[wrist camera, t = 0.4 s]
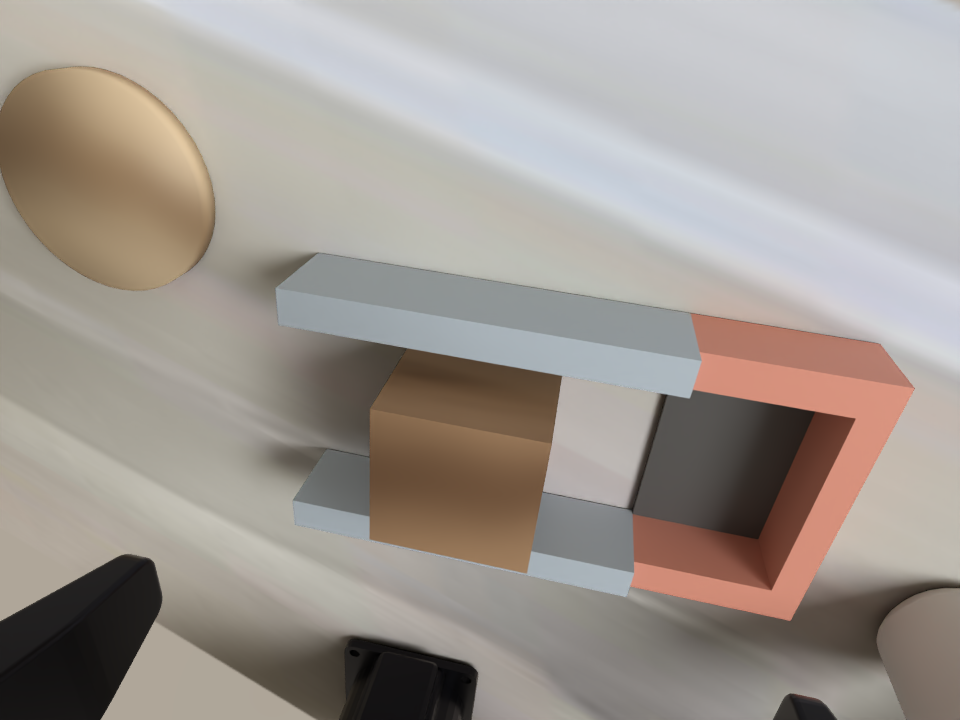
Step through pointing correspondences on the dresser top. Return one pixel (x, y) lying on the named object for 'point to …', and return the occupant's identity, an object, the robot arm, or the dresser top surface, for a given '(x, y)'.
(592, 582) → the channel
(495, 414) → the walnut block
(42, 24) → the dresser top surface
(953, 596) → the beverage can
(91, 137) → the cork coaster
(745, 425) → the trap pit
